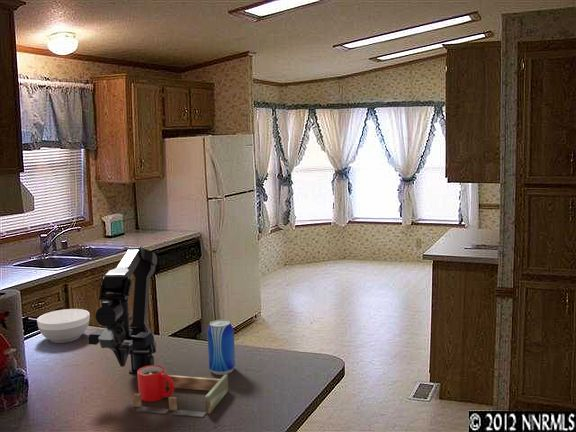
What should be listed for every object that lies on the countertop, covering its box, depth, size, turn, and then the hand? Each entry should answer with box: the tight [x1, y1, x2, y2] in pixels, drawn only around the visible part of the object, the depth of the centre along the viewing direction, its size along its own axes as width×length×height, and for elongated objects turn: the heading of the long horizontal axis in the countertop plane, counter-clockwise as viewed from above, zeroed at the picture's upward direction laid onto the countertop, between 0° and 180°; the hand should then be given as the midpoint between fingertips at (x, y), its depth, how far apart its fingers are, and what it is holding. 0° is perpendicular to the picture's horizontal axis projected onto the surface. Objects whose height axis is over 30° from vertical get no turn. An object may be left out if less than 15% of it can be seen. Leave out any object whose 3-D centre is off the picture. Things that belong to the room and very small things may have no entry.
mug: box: [136, 364, 175, 402], centre depth 176 cm, size 8×12×8 cm, turn 65°
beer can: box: [206, 319, 236, 376], centre depth 193 cm, size 8×8×16 cm
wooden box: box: [132, 374, 229, 418], centre depth 173 cm, size 23×18×5 cm
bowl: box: [36, 308, 90, 344], centre depth 229 cm, size 19×19×9 cm
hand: (122, 366), depth 178 cm, fingers closed
